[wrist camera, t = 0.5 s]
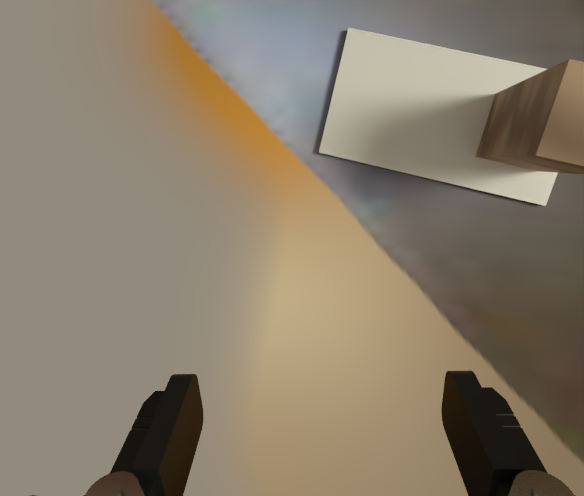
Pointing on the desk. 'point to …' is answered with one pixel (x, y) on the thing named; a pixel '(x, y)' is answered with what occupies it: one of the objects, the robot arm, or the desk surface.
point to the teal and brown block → (539, 122)
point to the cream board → (425, 113)
